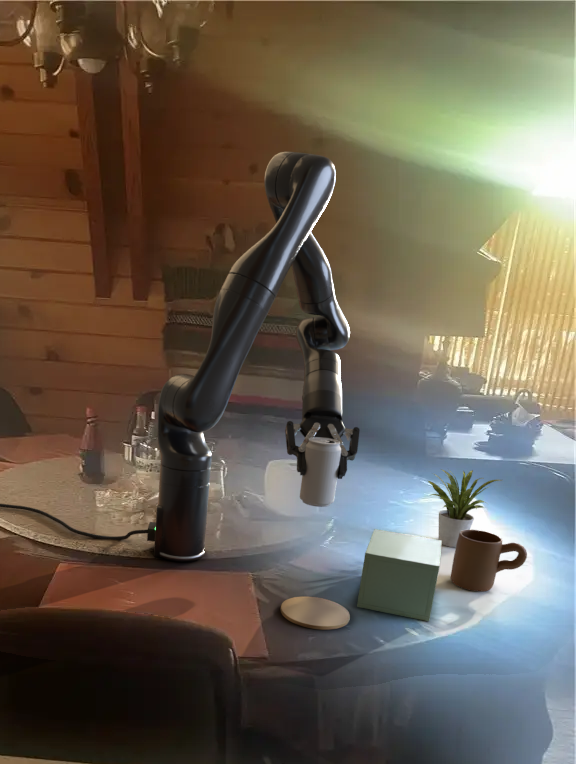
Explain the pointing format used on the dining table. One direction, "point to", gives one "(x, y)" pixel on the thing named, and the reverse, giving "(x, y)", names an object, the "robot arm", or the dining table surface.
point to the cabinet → (400, 574)
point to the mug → (482, 559)
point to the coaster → (315, 613)
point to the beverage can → (320, 471)
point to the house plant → (457, 507)
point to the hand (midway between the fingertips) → (321, 474)
